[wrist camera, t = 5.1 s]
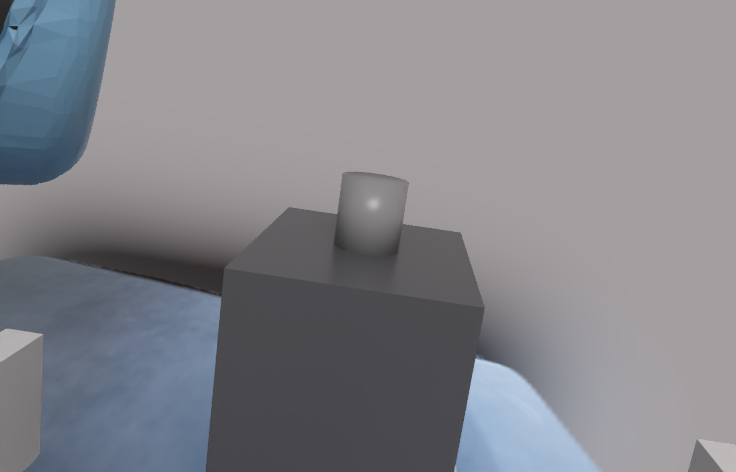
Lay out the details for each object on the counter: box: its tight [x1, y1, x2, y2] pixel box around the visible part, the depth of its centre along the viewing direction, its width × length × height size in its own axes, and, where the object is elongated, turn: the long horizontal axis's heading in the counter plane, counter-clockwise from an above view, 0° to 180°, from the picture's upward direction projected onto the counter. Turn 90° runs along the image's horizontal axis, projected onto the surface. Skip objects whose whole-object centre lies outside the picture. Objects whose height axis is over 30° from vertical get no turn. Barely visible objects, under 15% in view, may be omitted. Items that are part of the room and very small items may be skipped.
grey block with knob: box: [206, 172, 484, 472], centre depth 15 cm, size 6×4×12 cm
